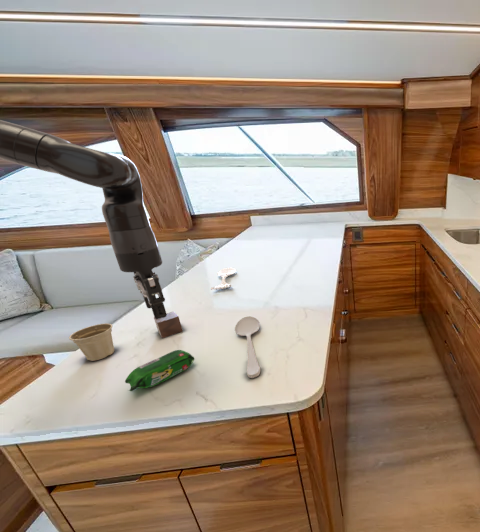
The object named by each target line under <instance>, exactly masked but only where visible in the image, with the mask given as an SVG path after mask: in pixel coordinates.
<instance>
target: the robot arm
mask: <svg viewBox="0 0 480 532" xmlns="http://www.w3.org/2000/svg"><path fill="white" fill-rule="evenodd" d="M0 160H3V161H6V162H9V163H13V164H17V165H19V166H24V167H28V168H31V169H36V170H40V171H44V172H47V173H52V174H56V175H60V176H63V177H65V178H68V179H70V180H73V181H76V182H79V183H82V184H84V185H89V186H92V187H96V188H100V189H102V193H103V198H104V202H103V204H102V205H101V213H102V216H103V219H104V222H105V224H106V228H107V231H108V234H109V241H110V244H111V247H112V250H113V252H114V255H115V258H116V261H117V264H118V267H119V270H120V271H121V272H123V273H133V276H132V278H133V281H134V283H135V285H136V287H137V289H138V291H139V293H140V294H141V295H142V297H143V300H144V303H145V306H146V308H147V309H151V312H152V315H153V318H154V317H155V319H160V318H164V317H166V316H167V311H166V308H165V304H164V303H165V302H166V297H165V296H164V293H163V288H162V286H161V283H160V278H159V276H158V274H157V273H156V272H155V271H153V269H155V268H158V267H160V266H162V264H163V259H162V256H161V252H160V249H159V246H158V242H157V239H156V235H155V232H154V231H153V229H152V227H151V224H150V220H149V216H148V213H147V211H146V208H145V205H144V195H143V187H142V186H143V185H142V179H141V176H140V173H139V170H138V168H137V166H136V165H135V163H134V162H133V161H132V160H131V159H129V158H128V157H127V156H124V155H123V154H122V155H121V154H119V153H113V152H104V151H101V150H96V149H93V148H89V147H86V146H82V145H78V144H75V143H71V142H70V141H68V140H67V139H64V138H61V137H59V136H56V135H53V134H51V133H47V132H44V131H40V130H36V129H33V128H30V127H27V126H23V125H20V124H17V123H13V122H10V121H6V120H2V119H0ZM156 295H157V297H156Z"/></svg>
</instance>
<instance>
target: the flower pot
mask: <svg viewBox="0 0 480 532" xmlns="http://www.w3.org/2000/svg"><path fill="white" fill-rule="evenodd" d="M112 328H113V324H111V323H97V324H93V325H90V326H86V327H84V328H81V329H79V330H76V331H75V332H72V334H70V335H69V337H68V339H69V340H70V341H72V342H73V343H74V344H76V346H77V348H79V350H80V351H81V352H82V354H83V355H84V357H85V358H86V360H87V361H91V362H95V361H99V360H103V359H105V358H106V357H108V356H111V355H112V354H114V353H115V346H114V341H113V335H112V332H113V329H112Z"/></svg>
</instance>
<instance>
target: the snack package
mask: <svg viewBox="0 0 480 532" xmlns="http://www.w3.org/2000/svg"><path fill="white" fill-rule="evenodd" d="M194 361H195V357H194V356H193V355H192V354H191V353H189V352H188V351H185V350H183V349H175V350H172V351H171V352H167V353H166V354H164V355H161V356H159V357H157V358H155V359H153V360H150V361H148V362H146V363H144V364H142V365H139V366H137V367H135V369H133V370H132V371H130V373H129V374H128V375H127V377H126V378H125V381H124V383H125V384H129V386H130V389H129V390H128V389H127V391H130V392H133V391H134V390H136V389H147V388H152V387H155V386H156V385H159V384H162V383H163V382H165V381H167V380H169V379H172V378H173V377H175V376H177V375H179V374H181V373H182V372H184V371H186V370H187V369H189V368H190V367H191V366H192V364H193V362H194Z"/></svg>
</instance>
